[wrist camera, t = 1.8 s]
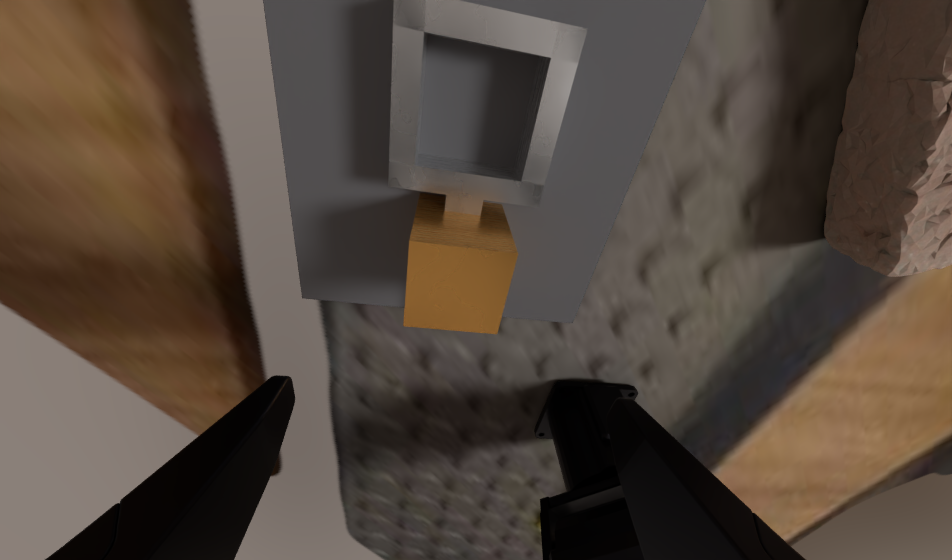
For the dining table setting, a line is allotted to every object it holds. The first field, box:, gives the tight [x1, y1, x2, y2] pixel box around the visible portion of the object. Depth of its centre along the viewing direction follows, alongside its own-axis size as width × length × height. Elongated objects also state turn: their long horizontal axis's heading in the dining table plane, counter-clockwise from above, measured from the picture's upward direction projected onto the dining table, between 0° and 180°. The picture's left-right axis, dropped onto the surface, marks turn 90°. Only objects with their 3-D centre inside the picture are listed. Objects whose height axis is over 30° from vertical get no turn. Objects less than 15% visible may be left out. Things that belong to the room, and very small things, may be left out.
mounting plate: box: [263, 0, 706, 323], centre depth 14 cm, size 26×16×1 cm, turn 170°
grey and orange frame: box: [388, 0, 588, 334], centre depth 14 cm, size 14×6×5 cm, turn 170°
